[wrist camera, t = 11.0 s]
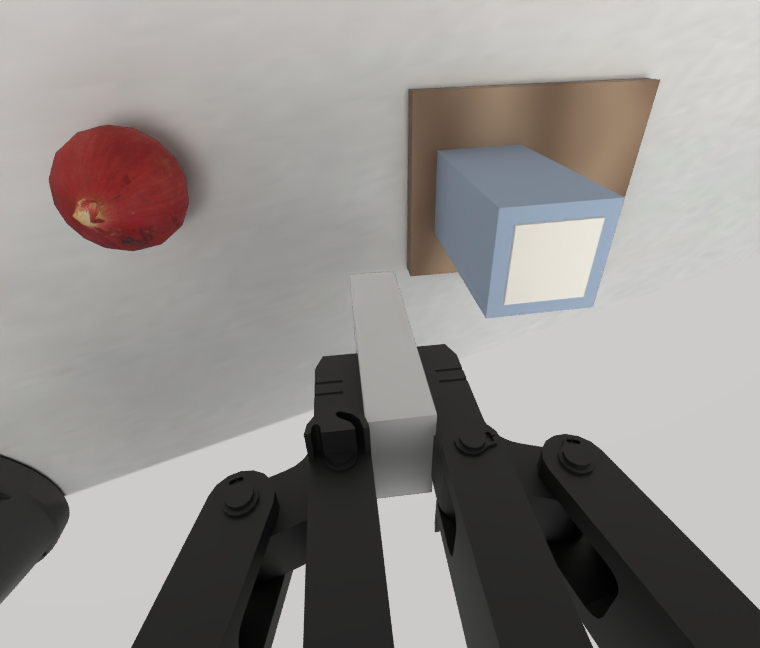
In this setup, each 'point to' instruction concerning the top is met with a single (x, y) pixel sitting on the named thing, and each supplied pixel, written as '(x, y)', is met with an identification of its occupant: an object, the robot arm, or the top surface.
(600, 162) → the board
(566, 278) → the block
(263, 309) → the top surface
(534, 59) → the top surface
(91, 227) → the red oval piece
